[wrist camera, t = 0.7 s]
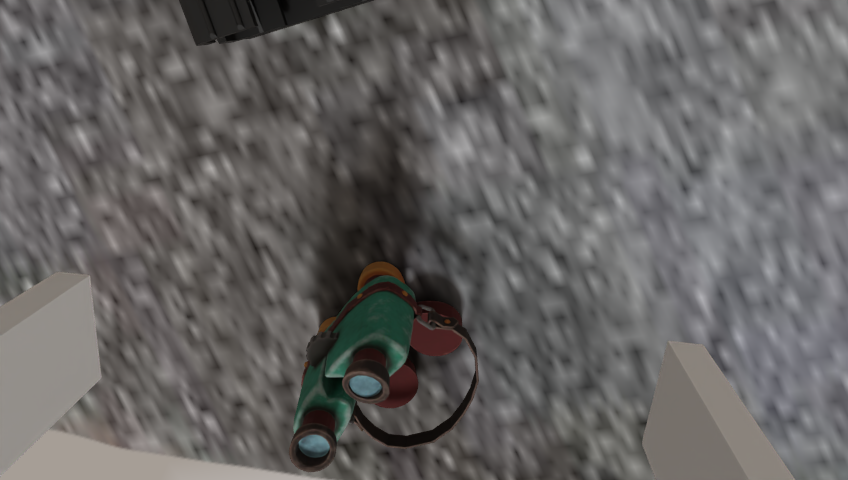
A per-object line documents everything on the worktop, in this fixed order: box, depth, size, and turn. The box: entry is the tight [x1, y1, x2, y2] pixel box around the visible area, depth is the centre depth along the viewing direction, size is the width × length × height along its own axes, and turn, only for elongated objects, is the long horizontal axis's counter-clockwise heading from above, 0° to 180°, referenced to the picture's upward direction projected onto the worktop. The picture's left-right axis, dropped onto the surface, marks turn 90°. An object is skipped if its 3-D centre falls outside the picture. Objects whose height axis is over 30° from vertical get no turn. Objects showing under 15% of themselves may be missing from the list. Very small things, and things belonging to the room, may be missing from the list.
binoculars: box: [289, 262, 479, 472], centre depth 33 cm, size 9×11×10 cm
